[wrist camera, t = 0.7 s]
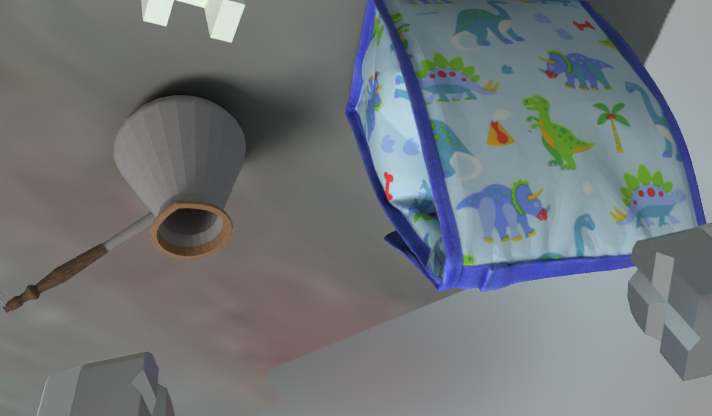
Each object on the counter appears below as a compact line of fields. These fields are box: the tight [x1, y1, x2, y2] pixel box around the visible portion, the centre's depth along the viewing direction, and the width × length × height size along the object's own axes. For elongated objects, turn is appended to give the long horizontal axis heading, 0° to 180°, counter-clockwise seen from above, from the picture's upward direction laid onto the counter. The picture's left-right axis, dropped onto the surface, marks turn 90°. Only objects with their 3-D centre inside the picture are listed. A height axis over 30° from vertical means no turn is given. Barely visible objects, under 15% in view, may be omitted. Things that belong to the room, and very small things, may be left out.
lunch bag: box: [346, 0, 707, 292], centre depth 56 cm, size 22×17×26 cm
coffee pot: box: [0, 95, 246, 312], centre depth 57 cm, size 21×12×15 cm, turn 99°
